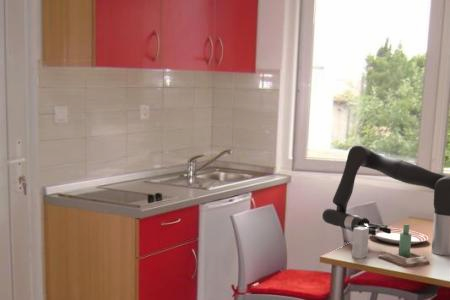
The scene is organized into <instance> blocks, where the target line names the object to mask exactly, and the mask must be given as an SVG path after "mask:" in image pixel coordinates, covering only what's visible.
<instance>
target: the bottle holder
mask: <svg viewBox="0 0 450 300" xmlns="http://www.w3.org/2000/svg"><path fill="white" fill-rule="evenodd" d="M378 259H380V260H383V261H386V262H388V263H391V264H392V265H397V266H399V267H402V268H410V267H419V266H424V265H425V266H426V265H430V263H431V261H429V260H427V256H424V255H421V254H418V253H416V252H415V253H414V252H412V251H410V258H405V257H402V256H399V253H392V252H390V251H386V252H385V255H384V254H383V255H378Z"/></svg>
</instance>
